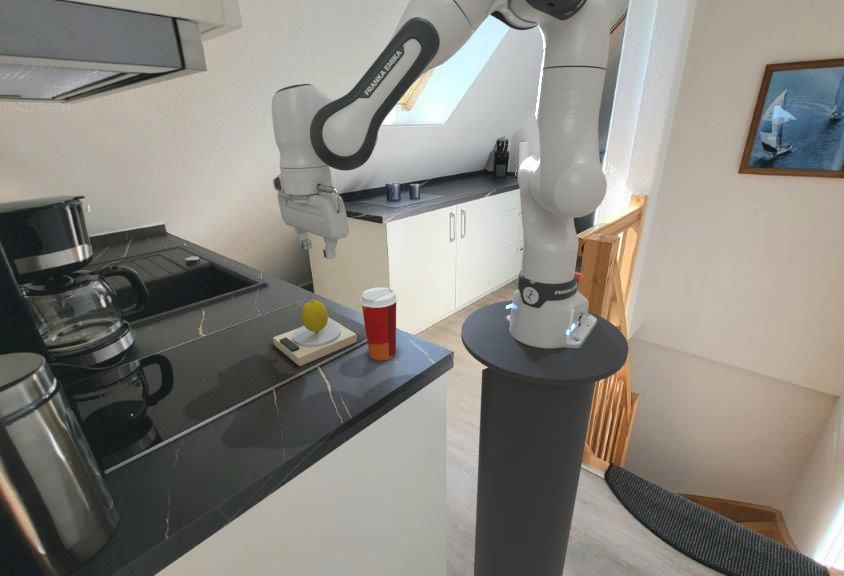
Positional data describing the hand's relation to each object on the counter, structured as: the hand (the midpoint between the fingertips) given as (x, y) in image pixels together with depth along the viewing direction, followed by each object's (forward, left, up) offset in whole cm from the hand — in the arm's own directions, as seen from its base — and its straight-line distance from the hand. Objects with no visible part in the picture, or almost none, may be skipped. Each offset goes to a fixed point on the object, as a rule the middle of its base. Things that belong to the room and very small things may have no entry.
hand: (317, 253), depth 80 cm
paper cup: (-7, +10, -22) cm, 25 cm away
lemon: (+1, -4, -20) cm, 20 cm away
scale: (+1, -4, -22) cm, 22 cm away
